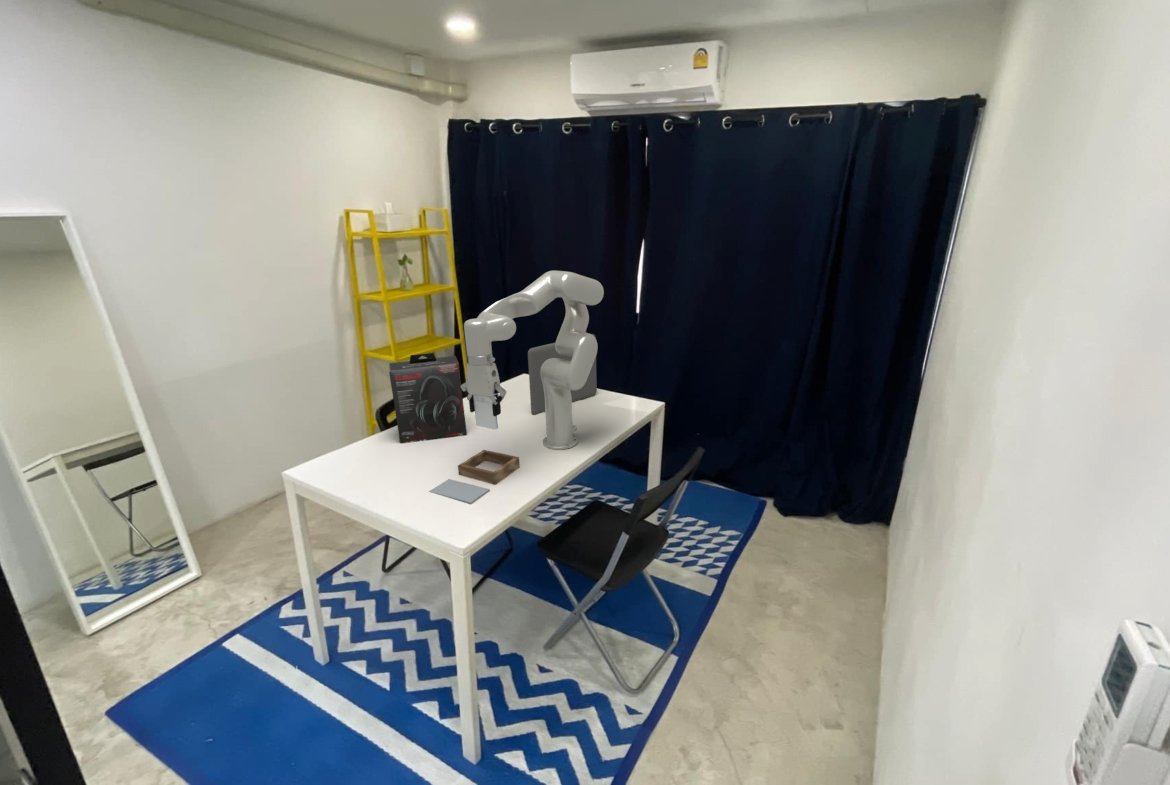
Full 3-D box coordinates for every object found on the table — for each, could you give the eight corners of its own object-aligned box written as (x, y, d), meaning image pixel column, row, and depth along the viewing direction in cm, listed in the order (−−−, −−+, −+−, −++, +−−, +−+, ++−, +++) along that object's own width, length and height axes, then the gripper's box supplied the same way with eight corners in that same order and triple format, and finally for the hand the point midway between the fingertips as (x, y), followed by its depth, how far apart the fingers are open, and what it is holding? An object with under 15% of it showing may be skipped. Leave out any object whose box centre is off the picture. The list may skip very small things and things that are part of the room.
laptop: (555, 384, 273) (552, 325, 264) (598, 396, 253) (597, 333, 244) (491, 403, 248) (486, 339, 239) (533, 419, 228) (529, 349, 218)
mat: (449, 481, 176) (448, 478, 176) (490, 491, 169) (489, 489, 169) (429, 493, 169) (429, 491, 168) (471, 504, 161) (470, 502, 161)
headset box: (399, 449, 202) (387, 361, 191) (398, 436, 213) (387, 352, 203) (467, 438, 209) (459, 353, 199) (463, 427, 220) (455, 346, 210)
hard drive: (479, 423, 179) (475, 387, 175) (498, 428, 175) (494, 390, 171) (475, 425, 178) (471, 388, 174) (495, 429, 174) (491, 392, 170)
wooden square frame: (484, 460, 190) (483, 449, 189) (519, 468, 184) (519, 457, 182) (459, 476, 179) (457, 465, 178) (495, 485, 173) (494, 473, 171)
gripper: (510, 359, 169) (515, 412, 174) (465, 354, 177) (471, 405, 182) (495, 365, 163) (500, 421, 168) (449, 360, 170) (456, 413, 176)
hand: (485, 412), depth 175 cm, fingers closed on hard drive, 8 cm apart
